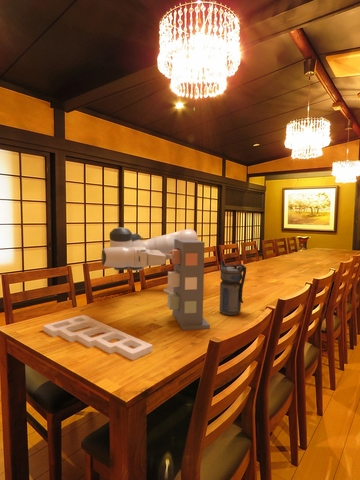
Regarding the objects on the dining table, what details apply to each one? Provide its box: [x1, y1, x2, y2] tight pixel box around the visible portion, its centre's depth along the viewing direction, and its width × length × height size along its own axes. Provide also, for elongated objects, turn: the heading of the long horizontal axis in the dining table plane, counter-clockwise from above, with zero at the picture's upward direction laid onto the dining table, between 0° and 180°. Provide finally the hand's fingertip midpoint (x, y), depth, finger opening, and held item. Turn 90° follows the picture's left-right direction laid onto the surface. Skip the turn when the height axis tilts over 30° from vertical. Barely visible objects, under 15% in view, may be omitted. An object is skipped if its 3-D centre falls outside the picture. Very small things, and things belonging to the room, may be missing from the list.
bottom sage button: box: [167, 293, 179, 311], centre depth 131 cm, size 6×6×6 cm
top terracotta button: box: [171, 249, 180, 265], centre depth 130 cm, size 6×6×6 cm
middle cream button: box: [167, 271, 180, 287], centre depth 130 cm, size 6×6×6 cm
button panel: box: [171, 239, 211, 331], centre depth 132 cm, size 12×22×36 cm, turn 13°
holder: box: [42, 314, 153, 361], centre depth 110 cm, size 45×18×3 cm, turn 48°
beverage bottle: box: [219, 260, 247, 316], centre depth 143 cm, size 10×13×25 cm
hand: (172, 256), depth 129 cm, fingers closed, pressing on top terracotta button
